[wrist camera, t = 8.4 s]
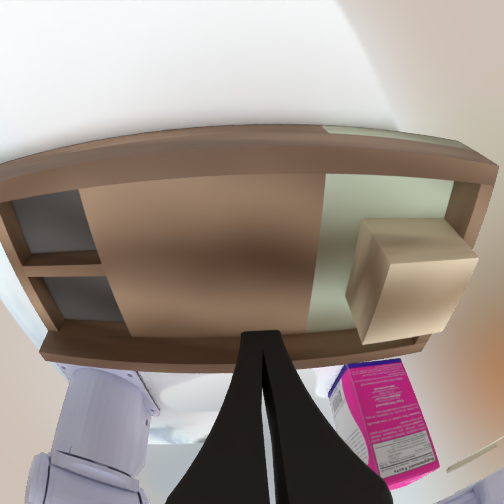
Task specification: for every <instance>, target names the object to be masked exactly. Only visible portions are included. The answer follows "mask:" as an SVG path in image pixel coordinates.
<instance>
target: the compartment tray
mask: <svg viewBox="0 0 504 504" xmlns="http://www.w3.org/2000/svg"><path fill="white" fill-rule="evenodd" d="M498 169H499V166H498V165H497V164H495V163H494V162H492V161H491V160H489V159H487V158H486V157H484V156H483V155H481V154H479V153H478V152H476V151H474V150H473V149H471V148H469V147H468V146H466V145H464V144H462V143H461V142H459V141H455V140H450V139H444V138H438V137H432V136H426V135H420V134H413V133H405V132H398V131H389V130H380V129H370V128H358V127H345V126H327V125H299V124H256V125H227V126H210V127H196V128H184V129H174V130H164V131H156V132H148V133H140V134H133V135H126V136H120V137H114V138H108V139H102V140H97V141H91V142H86V143H81V144H76V145H71V146H67V147H62V148H58V149H54V150H50V151H45V152H42V153H38V154H34V155H30V156H26V157H23V158H19V159H16V160H12V161H9V162H6V163H2V164H0V242H1V244H2V246H3V248H4V251H5V253H6V255H7V257H8V259H9V261H10V263H11V265H12V267H13V269H14V271H15V273H16V275H17V277H18V279H19V281H20V283H21V285H22V287H23V289H24V291H25V292H26V294H27V296H28V298H29V300H30V301H31V303H32V305H33V307H34V308H35V310H36V312H37V313H38V315H39V317H40V318H41V320H42V322H43V323H44V325H45V326H46V328H47V330H48V333H47V335H46V337H45V339H44V341H43V344H42V346H41V348H40V351H39V353H40V354H41V355H42V357H43V358H44V359H45V360H46V361H51V362H58V363H64V364H72V365H79V366H87V367H96V368H106V369H117V370H129V371H144V372H165V373H234V369H235V366H236V362H237V358H238V353H239V347H240V339H241V333H242V332H244V331H262V330H279V331H280V332H281V336H282V339H283V342H284V345H285V347H286V350H287V352H288V354H289V357H290V359H291V361H292V363H293V365H294V367H295V369H307V368H318V367H327V366H335V365H343V364H351V363H358V362H365V361H371V360H377V359H384V358H389V357H394V356H400V355H406V354H411V353H416V352H421V351H422V350H423V348H424V346H425V345H426V342H427V341H428V339H429V338H430V336H431V334H432V333H431V334H426V335H421V336H415V337H410V338H404V339H398V340H392V341H385V342H379V343H372V344H365V345H362V342H361V339H360V337H359V334H358V331H357V328H356V325H355V322H354V319H353V317H352V314H351V311H350V308H349V305H348V303H347V300H346V297H345V294H346V290H347V286H348V281H349V277H350V273H351V268H352V264H353V259H354V255H355V250H356V245H357V240H358V235H359V230H360V225H361V219H362V218H444V219H445V220H446V221H447V222H448V223H449V224H450V225H451V226H452V228H453V229H454V230H455V231H456V232H457V233H458V234H459V235H460V236H461V237H462V238H463V240H464V241H465V242H466V243H467V244H468V245H469V246H470V248H471V249H473V247H474V244H475V242H476V239H477V236H478V234H479V231H480V228H481V225H482V223H483V220H484V217H485V214H486V211H487V208H488V204H489V201H490V198H491V195H492V191H493V188H494V185H495V181H496V177H497V173H498Z"/></svg>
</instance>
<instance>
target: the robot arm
mask: <svg viewBox="0 0 504 504" xmlns="http://www.w3.org/2000/svg"><path fill="white" fill-rule="evenodd" d="M57 364H58V366H59V367H60V368H61V369H62V371H63V372H64V373H65V375H66V376H67V377H68V378H69V379H70V383H69V387H68V390H67V393H66V396H65V400H64V403H63V407H62V410H61V413H60V417H59V421H58V424H57V428H56V432H55V436H54V440H53V444H52V449H51V452H49V453H48V454H45V453H43V452H42V453H40V454H38V455H36V456H34V458H33V461H32V464H31V468H30V472H29V476H28V481H27V486H26V494H25V504H150V502H149V499H148V498H147V496H146V494H145V492H144V491H143V490H142V489H141V488H140V487H139V480H138V479H134V477H135V476H137V475H138V474H139V472H141V470H142V469H143V467H144V464H145V460H146V452H147V443H148V435H149V427H150V420H151V416H159V415H160V411H159V410H158V408H157V406H156V405H155V403H154V402H153V400H152V398H151V397H150V395H149V393H148V392H147V390H146V388H145V387H144V385H143V383H142V382H141V380H140V378H139V377H138V375H137V373H136V371H129V370H117V369H106V368H96V367H87V366H79V365H72V364H64V363H58V362H57ZM262 389H263V395H264V400H265V406H266V412H267V418H268V423H269V429H270V435H271V442H272V453H273V467H274V483H275V498H276V504H393V499H392V495H391V492H390V490H389V488H388V486H387V484H386V482H385V480H384V479H382V478H381V477H380V476H379V475H378V474H377V473H375V472H374V471H373V470H372V469H371V468H370V467H369V466H368V465H367V464H365V463H364V462H363V461H362V460H361V459H360V458H359V457H358V456H357V455H356V454H355V453H354V452H353V450H352V449H351V448H350V447H349V446H348V445H347V444H346V443H345V442H344V440H343V439H342V438H341V437H340V436H339V435H338V434H337V432H336V431H335V430H334V429H333V427H332V426H331V425H330V424H329V422H328V421H327V419H326V418H325V417H324V416H323V414H322V413H321V411H320V410H319V408H318V407H317V405H316V404H315V402H314V401H313V399H312V398H311V396H310V394H309V393H308V391H307V390H306V388H305V386H304V384H303V382H302V381H301V379H300V377H299V375H298V373H297V371H296V369H295V367H294V365H293V363H292V361H291V359H290V357H289V354H288V352H287V350H286V347H285V345H284V342H283V339H282V336H281V332H280V331H279V330H262V331H244V332H242V333H241V339H240V347H239V353H238V358H237V362H236V366H235V369H234V373H233V376H232V380H231V383H230V386H229V389H228V391H227V394H226V397H225V399H224V402H223V405H222V407H221V410H220V412H219V414H218V416H217V419H216V421H215V423H214V425H213V427H212V429H211V431H210V433H209V435H208V437H207V439H206V441H205V443H204V444H203V447H202V448H201V450H200V451H199V453H198V455H197V456H196V458H195V460H194V461H193V463H192V464H191V466H190V467H189V469H188V470H187V472H186V474H185V475H184V476H183V478H182V479H181V481H180V482H179V483H178V485H177V486H176V487H175V489H174V490H173V491H172V492H171V494H170V495H169V496H168V498H167V501H166V503H165V504H270V499H269V489H268V479H267V469H266V458H265V447H264V436H263V424H262V412H261V405H262V404H261V403H262ZM434 504H504V468H501V469H500V470H498V471H496V472H495V473H493V474H491V475H489V476H488V477H486V478H484V479H483V480H479V481H478V482H476V483H474V484H472V485H470V486H468V487H466V488H464V489H462V490H460V491H458V492H456V493H455V494H454V495H452V496H450V497H448V498H446V499H443V500H441V501H439V502H436V503H434Z"/></svg>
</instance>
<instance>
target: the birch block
mask: <svg viewBox="0 0 504 504" xmlns="http://www.w3.org/2000/svg"><path fill="white" fill-rule="evenodd" d="M478 260H479V257H478V256H477V255H476V253H475V252H474V251H473V250H472V249H471V248H470V246H469V245H468V244H467V243H466V242H465V241H464V240H463V238H462V237H461V236H460V235H459V234H458V233H457V232H456V231H455V230H454V229H453V228H452V226H451V225H450V224H449V223H448V222H447V221H446V220H445V219H444V218H362V219H361V225H360V230H359V235H358V240H357V245H356V250H355V255H354V259H353V264H352V268H351V273H350V277H349V281H348V286H347V290H346V294H345V297H346V300H347V303H348V305H349V308H350V311H351V314H352V317H353V319H354V322H355V325H356V328H357V331H358V334H359V337H360V339H361V342H362V345H365V344H372V343H379V342H385V341H392V340H398V339H404V338H410V337H415V336H421V335H426V334H431V333H436V332H441V331H443V329H444V327H445V326H446V324H447V322H448V320H449V319H450V317H451V315H452V313H453V311H454V309H455V307H456V306H457V304H458V302H459V300H460V298H461V296H462V294H463V292H464V290H465V288H466V286H467V284H468V282H469V280H470V277H471V275H472V273H473V271H474V269H475V266H476V264H477V262H478Z"/></svg>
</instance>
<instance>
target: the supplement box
mask: <svg viewBox="0 0 504 504" xmlns="http://www.w3.org/2000/svg"><path fill="white" fill-rule="evenodd" d="M328 397H329V400H330V405H331V408H332V412H333V417H334V421H335V426H336V430H337V434H338V435H339V436H340V437H341V438H342V439H343V440H344V442H345V443H346V444H347V445H348V446H349V447H350V448H351V449H352V450H353V452H354V453H355V454H356V455H357V456H358V457H359V458H360V459H361V460H362V461H363V462H364V463H365V464H367V465H368V466H369V467H370V468H371V469H372V470H373V471H374V472H375V473H377V474H378V475H379V476H380V477H381V478H382V479H384V480H385V482H386V484H387V486H388V488H389V490H390V491H391V490H395V489H398V488H401V487H403V486H406V485H408V484H410V483H412V482H414V481H416V480H418V479H420V478H422V477H424V476H426V475H428V474H429V473H431V472H433V471H435V470H436V469H438V468H439V467H440V465H439V461H438V459H437V455H436V452H435V449H434V446H433V443H432V440H431V437H430V434H429V431H428V428H427V426H426V423H425V420H424V417H423V415H422V412H421V409H420V406H419V404H418V401H417V398H416V396H415V393H414V391H413V388H412V386H411V383H410V381H409V378H408V376H407V373H406V371H405V368H404V366H403V364H402V361H401V359H400V358H398V359H389V360H382V361H373V362H361V363H351V364H345V366H344V367H343V369H342V371H341V373H340V375H339V376H338V378H337V380H336V382H335V384H334V385H333V387H332V389H331V391H330V392H329V394H328Z"/></svg>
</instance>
